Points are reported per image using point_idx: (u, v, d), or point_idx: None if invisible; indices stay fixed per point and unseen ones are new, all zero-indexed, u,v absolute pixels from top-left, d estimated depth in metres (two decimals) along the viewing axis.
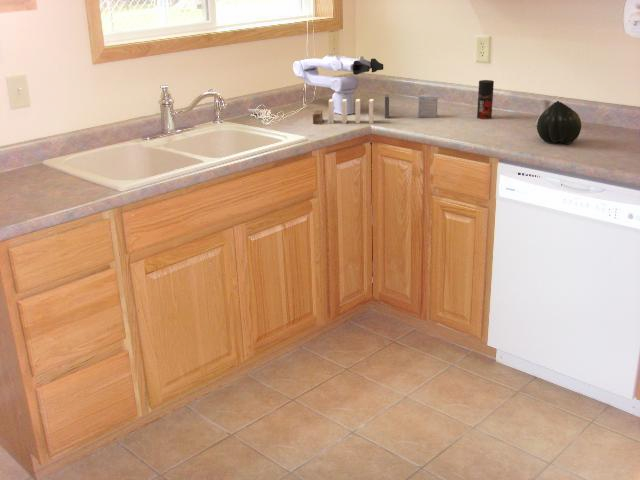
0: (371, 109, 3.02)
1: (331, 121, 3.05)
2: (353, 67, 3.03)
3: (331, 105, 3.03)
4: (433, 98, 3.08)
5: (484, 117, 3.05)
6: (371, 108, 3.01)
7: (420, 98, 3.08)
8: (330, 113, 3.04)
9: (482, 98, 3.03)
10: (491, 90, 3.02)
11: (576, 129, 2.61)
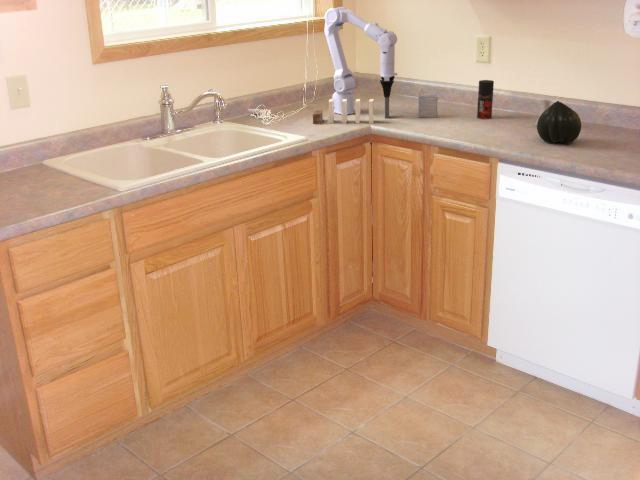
0: (371, 109, 3.02)
1: (331, 121, 3.05)
2: (387, 81, 3.02)
3: (331, 105, 3.03)
4: (433, 98, 3.08)
5: (484, 117, 3.05)
6: (371, 108, 3.01)
7: (420, 98, 3.08)
8: (330, 113, 3.04)
9: (482, 98, 3.03)
10: (491, 90, 3.02)
11: (576, 129, 2.61)
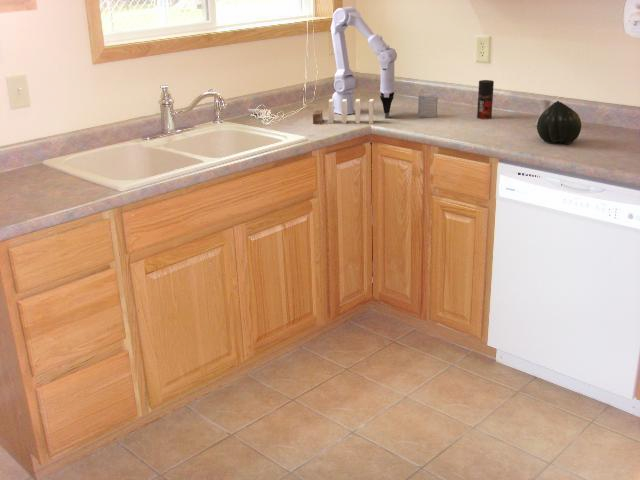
0: (371, 109, 3.02)
1: (331, 121, 3.05)
2: (387, 97, 3.06)
3: (331, 105, 3.03)
4: (433, 98, 3.08)
5: (484, 117, 3.05)
6: (371, 108, 3.01)
7: (420, 98, 3.08)
8: (330, 113, 3.04)
9: (482, 98, 3.03)
10: (491, 90, 3.02)
11: (576, 129, 2.61)
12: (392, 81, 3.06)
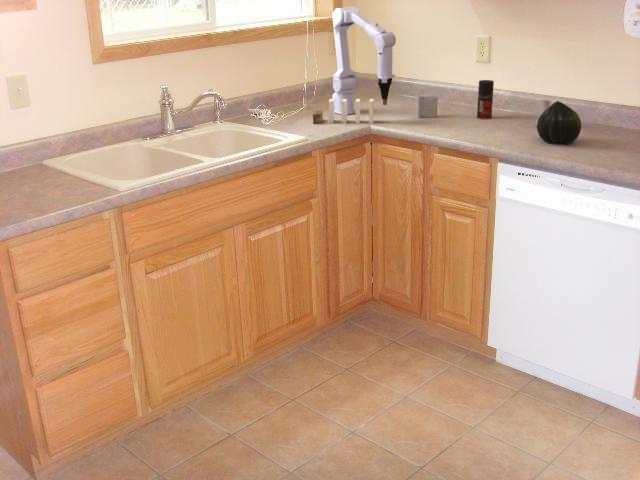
0: (371, 109, 3.02)
1: (331, 121, 3.05)
2: (385, 82, 2.94)
3: (331, 105, 3.03)
4: (433, 98, 3.08)
5: (484, 117, 3.05)
6: (371, 108, 3.01)
7: (420, 98, 3.08)
8: (330, 113, 3.04)
9: (482, 98, 3.03)
10: (491, 90, 3.02)
11: (576, 129, 2.61)
12: (390, 66, 2.95)
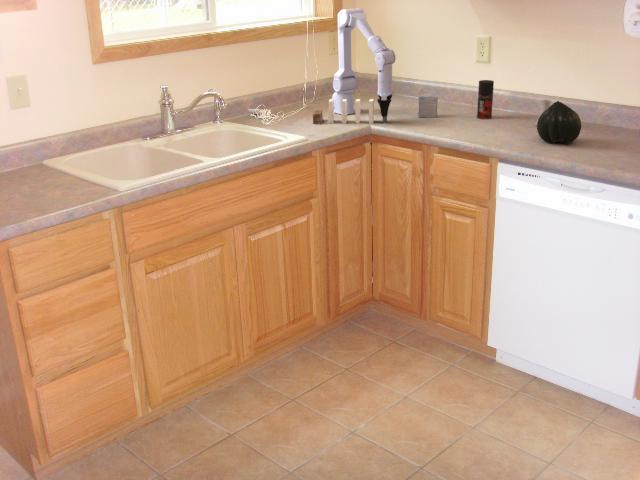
0: (371, 109, 3.02)
1: (331, 121, 3.05)
2: (384, 100, 2.96)
3: (331, 105, 3.03)
4: (433, 98, 3.08)
5: (484, 117, 3.05)
6: (371, 108, 3.01)
7: (420, 98, 3.08)
8: (330, 113, 3.04)
9: (482, 98, 3.03)
10: (491, 90, 3.02)
11: (576, 129, 2.61)
12: (390, 83, 2.98)
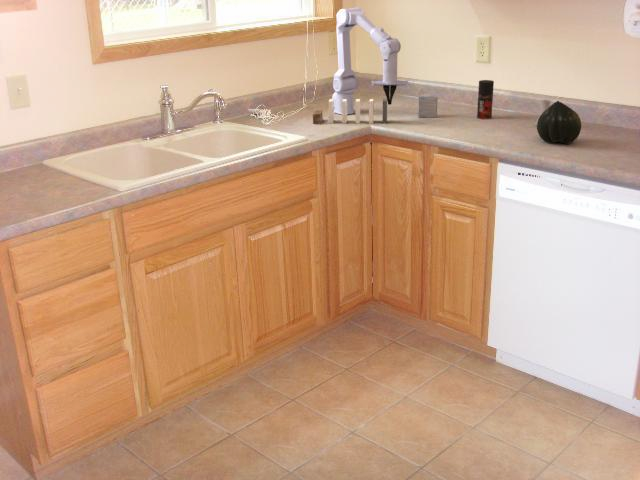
0: (371, 109, 3.02)
1: (331, 121, 3.05)
2: (383, 87, 3.00)
3: (331, 105, 3.03)
4: (433, 98, 3.08)
5: (484, 117, 3.05)
6: (371, 108, 3.01)
7: (420, 98, 3.08)
8: (330, 113, 3.04)
9: (482, 98, 3.03)
10: (491, 90, 3.02)
11: (576, 129, 2.61)
12: (385, 73, 2.96)
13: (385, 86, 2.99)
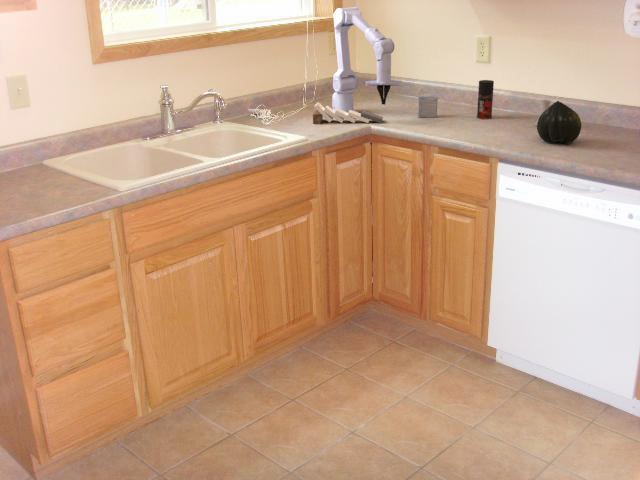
0: (355, 116, 3.03)
1: (330, 119, 3.05)
2: (377, 87, 3.00)
3: (319, 107, 3.04)
4: (433, 98, 3.08)
5: (484, 117, 3.05)
6: (354, 115, 3.03)
7: (420, 98, 3.08)
8: (324, 114, 3.05)
9: (482, 98, 3.03)
10: (491, 90, 3.02)
11: (576, 129, 2.61)
12: (379, 73, 2.96)
13: (379, 86, 2.99)
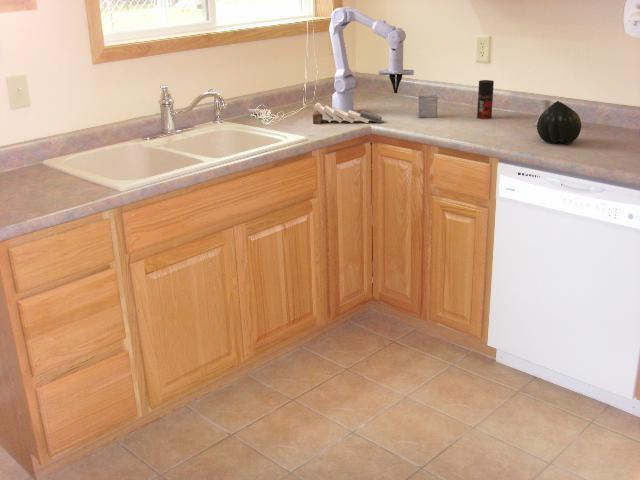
0: (355, 116, 3.03)
1: (330, 119, 3.05)
2: None
3: (319, 107, 3.04)
4: (433, 98, 3.08)
5: (484, 117, 3.05)
6: (354, 116, 3.03)
7: (420, 98, 3.08)
8: (324, 114, 3.05)
9: (482, 98, 3.03)
10: (491, 90, 3.02)
11: (576, 129, 2.61)
12: (391, 62, 3.02)
13: (391, 75, 3.05)
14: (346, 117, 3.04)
